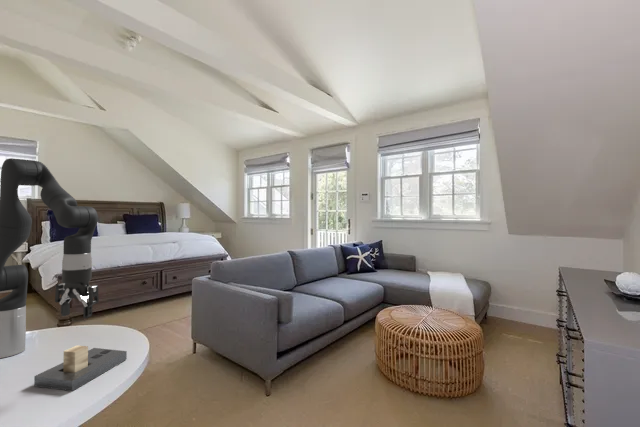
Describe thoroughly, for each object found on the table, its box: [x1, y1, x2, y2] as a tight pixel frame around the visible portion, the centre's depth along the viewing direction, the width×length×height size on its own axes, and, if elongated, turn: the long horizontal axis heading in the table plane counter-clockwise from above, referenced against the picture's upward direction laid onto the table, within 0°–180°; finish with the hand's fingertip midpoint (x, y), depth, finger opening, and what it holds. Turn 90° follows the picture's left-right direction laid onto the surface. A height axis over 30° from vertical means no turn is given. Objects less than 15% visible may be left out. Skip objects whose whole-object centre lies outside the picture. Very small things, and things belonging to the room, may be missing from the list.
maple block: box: [62, 344, 89, 373], centre depth 98 cm, size 4×4×9 cm
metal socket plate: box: [33, 347, 128, 392], centre depth 101 cm, size 14×20×3 cm
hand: (76, 316), depth 98 cm, fingers open, 8 cm apart
